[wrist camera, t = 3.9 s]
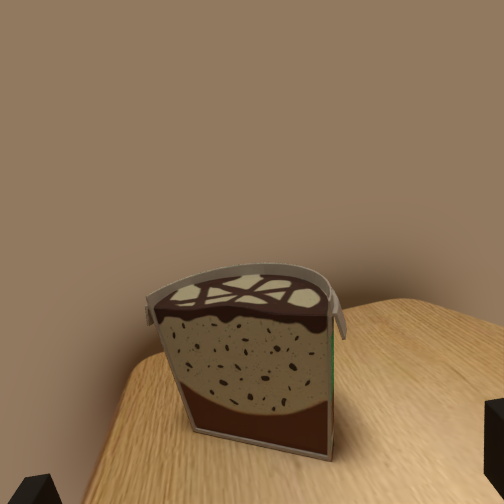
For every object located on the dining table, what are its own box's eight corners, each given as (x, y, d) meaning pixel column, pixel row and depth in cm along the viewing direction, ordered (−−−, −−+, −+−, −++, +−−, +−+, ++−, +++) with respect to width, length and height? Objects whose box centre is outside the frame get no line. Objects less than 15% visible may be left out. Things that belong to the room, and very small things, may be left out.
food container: (370, 392, 24) (358, 257, 22) (358, 467, 19) (341, 301, 16) (217, 372, 30) (192, 262, 27) (175, 427, 24) (138, 296, 22)
